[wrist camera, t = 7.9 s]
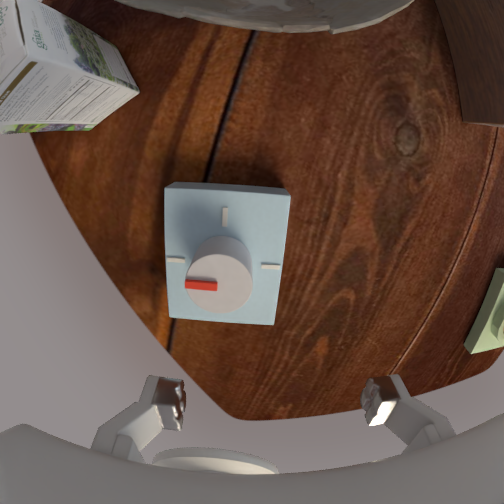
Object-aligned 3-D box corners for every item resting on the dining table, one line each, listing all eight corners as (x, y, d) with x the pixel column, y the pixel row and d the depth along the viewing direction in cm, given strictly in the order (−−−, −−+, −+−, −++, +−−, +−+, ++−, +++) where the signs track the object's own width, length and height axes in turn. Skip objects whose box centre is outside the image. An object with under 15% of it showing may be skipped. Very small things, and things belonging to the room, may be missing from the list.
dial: (254, 238, 21) (255, 258, 17) (249, 290, 22) (249, 318, 19) (194, 233, 21) (183, 252, 17) (193, 286, 22) (184, 312, 19)
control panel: (271, 306, 27) (274, 326, 24) (176, 299, 26) (168, 318, 23) (285, 188, 23) (291, 195, 20) (174, 181, 22) (163, 188, 19)
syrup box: (69, 84, 18) (-54, 71, 5) (119, 44, 17) (10, -14, 4) (91, 131, 20) (-42, 146, 7) (144, 91, 19) (25, 52, 6)
